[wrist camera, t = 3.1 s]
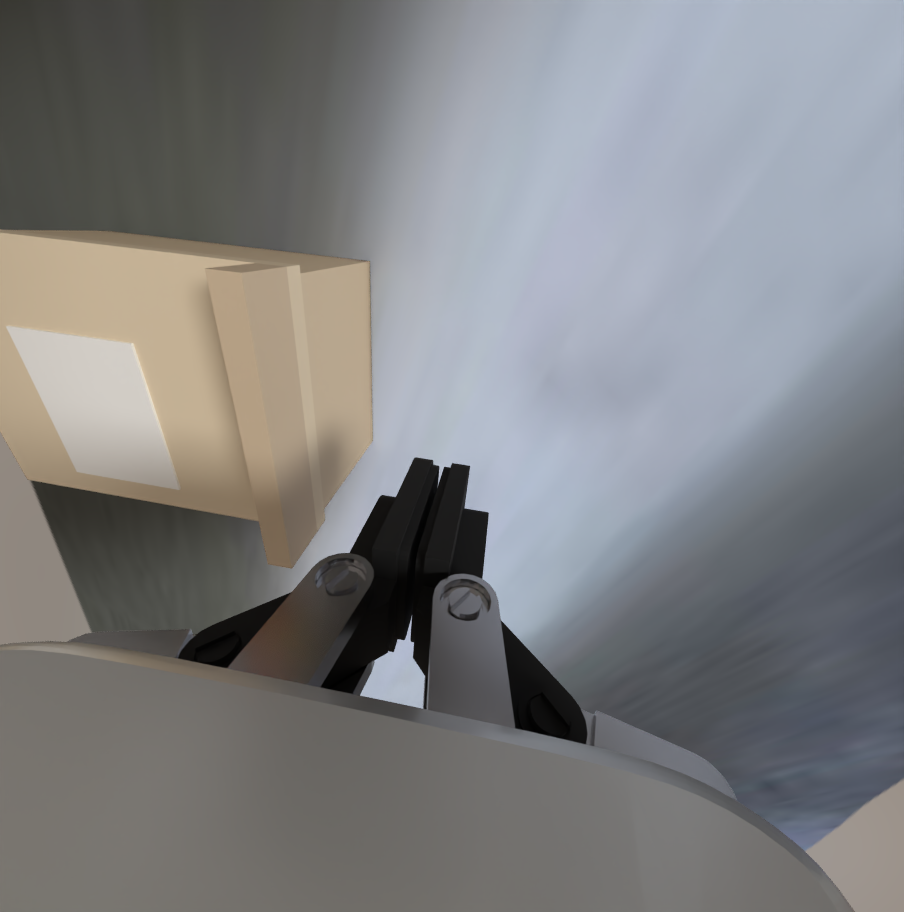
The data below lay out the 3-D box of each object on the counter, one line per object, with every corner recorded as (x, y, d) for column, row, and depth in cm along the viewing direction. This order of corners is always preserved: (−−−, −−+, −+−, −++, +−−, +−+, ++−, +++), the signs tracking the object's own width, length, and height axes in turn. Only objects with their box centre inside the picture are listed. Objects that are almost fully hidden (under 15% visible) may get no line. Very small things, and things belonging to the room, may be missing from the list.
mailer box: (369, 261, 19) (299, 273, 13) (372, 440, 24) (323, 510, 18) (108, 231, 20) (-69, 229, 14) (164, 408, 25) (52, 463, 19)
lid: (299, 264, 12) (241, 272, 10) (325, 520, 18) (292, 568, 15) (-90, 218, 14) (-234, 214, 11) (45, 470, 19) (-29, 507, 16)
